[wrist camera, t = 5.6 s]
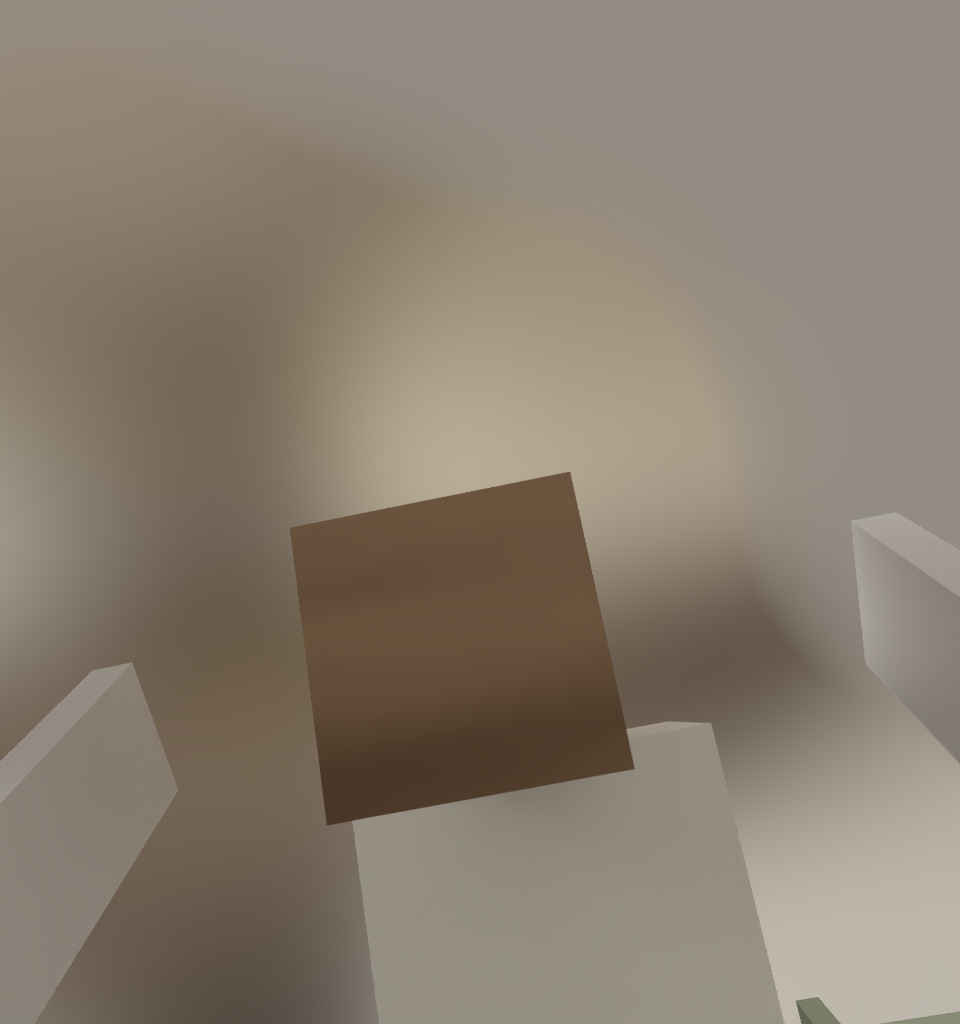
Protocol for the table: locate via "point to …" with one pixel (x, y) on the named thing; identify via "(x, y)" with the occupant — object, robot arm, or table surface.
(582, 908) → the tall white pillar
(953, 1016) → the mint green upright block
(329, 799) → the bar
